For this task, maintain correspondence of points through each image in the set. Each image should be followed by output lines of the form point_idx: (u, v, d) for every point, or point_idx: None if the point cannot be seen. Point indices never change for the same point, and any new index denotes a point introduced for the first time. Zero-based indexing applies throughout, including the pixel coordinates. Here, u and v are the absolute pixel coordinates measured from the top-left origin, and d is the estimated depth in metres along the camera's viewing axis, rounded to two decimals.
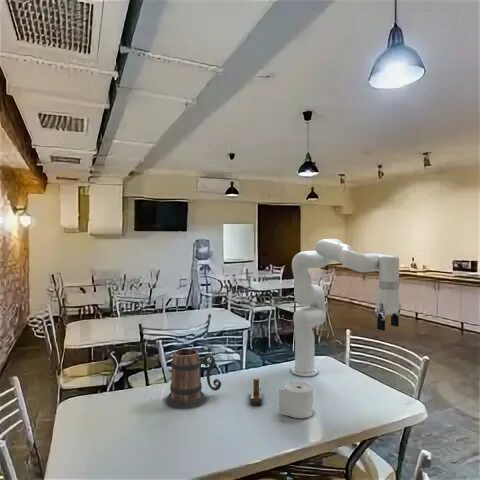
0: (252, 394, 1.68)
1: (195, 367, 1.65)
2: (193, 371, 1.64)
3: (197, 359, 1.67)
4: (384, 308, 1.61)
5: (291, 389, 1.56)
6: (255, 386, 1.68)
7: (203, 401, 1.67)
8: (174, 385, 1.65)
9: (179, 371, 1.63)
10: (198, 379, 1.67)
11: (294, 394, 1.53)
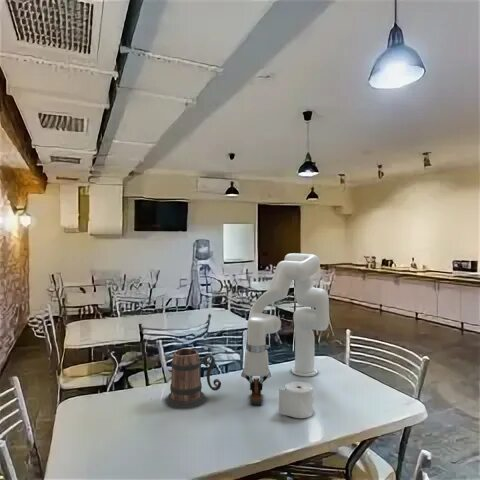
0: (252, 394, 1.68)
1: (195, 367, 1.65)
2: (193, 371, 1.64)
3: (197, 359, 1.67)
4: (244, 368, 1.68)
5: (291, 389, 1.56)
6: (255, 386, 1.68)
7: (203, 401, 1.67)
8: (174, 385, 1.65)
9: (179, 371, 1.63)
10: (198, 379, 1.67)
11: (294, 394, 1.53)
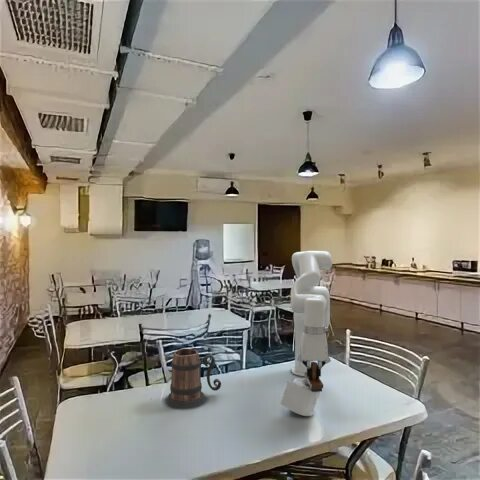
0: (310, 379, 1.55)
1: (195, 367, 1.65)
2: (193, 371, 1.64)
3: (197, 359, 1.67)
4: (301, 352, 1.55)
5: (300, 385, 1.56)
6: (313, 371, 1.55)
7: (203, 401, 1.67)
8: (174, 385, 1.65)
9: (179, 371, 1.63)
10: (198, 379, 1.67)
11: (302, 391, 1.53)
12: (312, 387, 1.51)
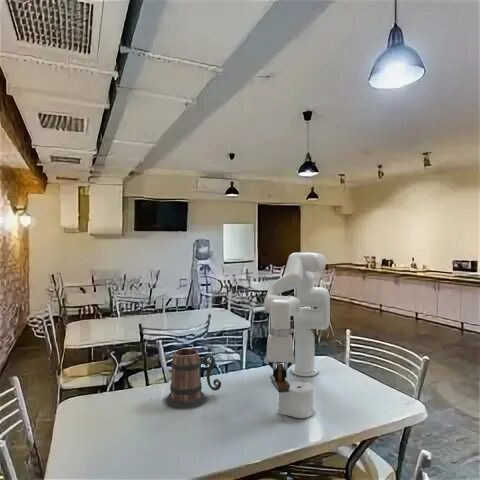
0: (277, 381, 1.56)
1: (195, 367, 1.65)
2: (193, 371, 1.64)
3: (197, 359, 1.67)
4: (267, 354, 1.56)
5: (291, 389, 1.56)
6: (279, 372, 1.56)
7: (203, 401, 1.67)
8: (174, 385, 1.65)
9: (179, 371, 1.63)
10: (198, 379, 1.67)
11: (294, 394, 1.54)
12: (279, 388, 1.52)
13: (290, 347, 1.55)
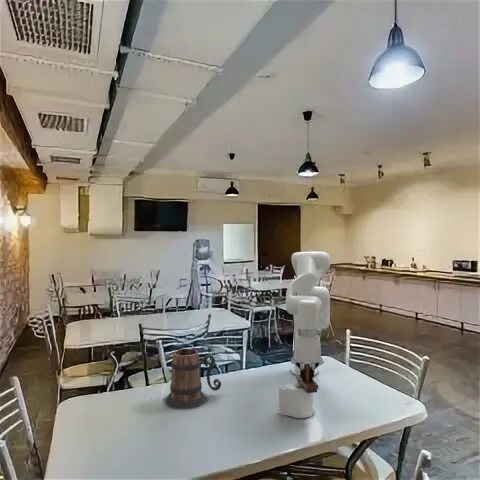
0: (304, 381, 1.56)
1: (195, 367, 1.65)
2: (193, 371, 1.64)
3: (197, 359, 1.67)
4: (294, 354, 1.56)
5: (291, 389, 1.56)
6: (307, 373, 1.56)
7: (203, 401, 1.67)
8: (174, 385, 1.65)
9: (179, 371, 1.63)
10: (198, 379, 1.67)
11: (294, 394, 1.54)
12: (308, 388, 1.52)
13: (318, 347, 1.55)
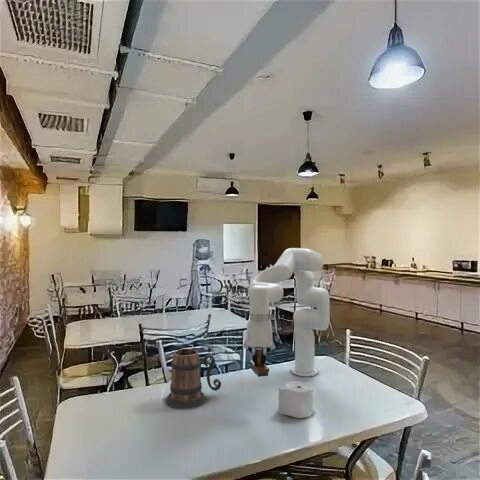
0: (256, 365, 1.58)
1: (195, 367, 1.65)
2: (193, 371, 1.64)
3: (197, 359, 1.67)
4: (246, 339, 1.58)
5: (291, 388, 1.56)
6: (259, 357, 1.58)
7: (203, 401, 1.67)
8: (174, 385, 1.65)
9: (179, 371, 1.63)
10: (198, 379, 1.67)
11: (294, 394, 1.54)
12: (259, 372, 1.54)
13: (269, 332, 1.57)
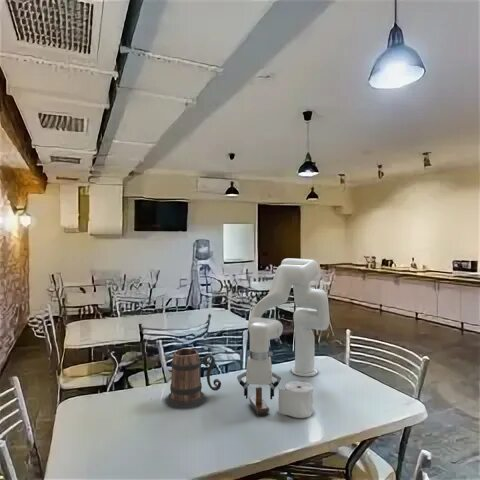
0: (256, 404, 1.59)
1: (195, 367, 1.65)
2: (193, 371, 1.64)
3: (197, 359, 1.67)
4: (246, 376, 1.59)
5: (291, 388, 1.56)
6: (259, 395, 1.59)
7: (203, 401, 1.67)
8: (174, 385, 1.65)
9: (179, 371, 1.63)
10: (198, 379, 1.67)
11: (294, 394, 1.54)
12: (258, 411, 1.55)
13: (269, 370, 1.58)
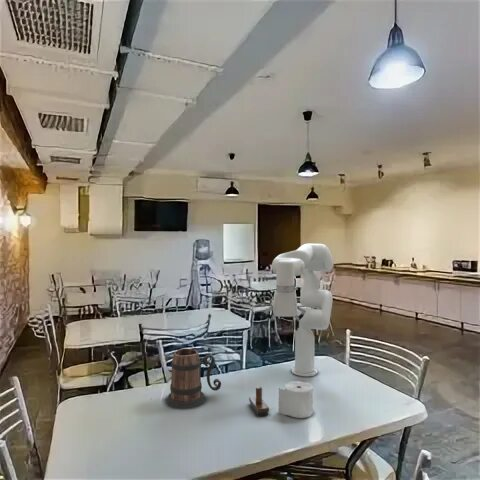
0: (256, 404, 1.59)
1: (195, 367, 1.65)
2: (193, 371, 1.64)
3: (197, 359, 1.67)
4: (273, 309, 1.72)
5: (291, 388, 1.56)
6: (259, 395, 1.59)
7: (203, 401, 1.67)
8: (174, 385, 1.65)
9: (179, 371, 1.63)
10: (198, 379, 1.67)
11: (294, 394, 1.54)
12: (258, 411, 1.55)
13: (294, 302, 1.70)
